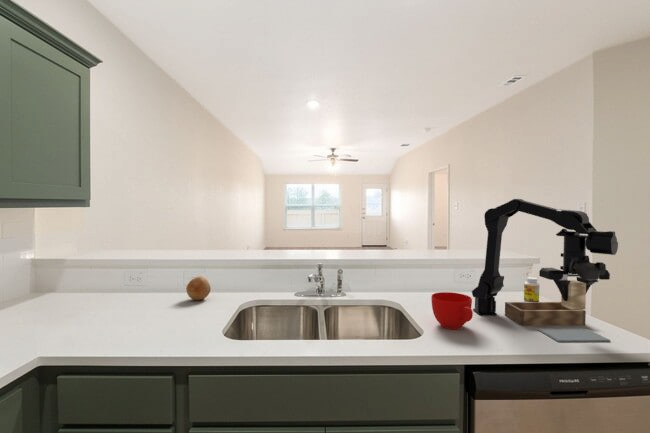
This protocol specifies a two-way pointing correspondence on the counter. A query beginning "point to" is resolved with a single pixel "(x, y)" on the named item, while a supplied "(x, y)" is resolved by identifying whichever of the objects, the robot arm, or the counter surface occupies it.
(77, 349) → the counter surface
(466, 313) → the ceramic cup
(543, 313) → the walnut crate
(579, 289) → the maple block
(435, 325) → the counter surface
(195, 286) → the onion
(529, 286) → the supplement bottle
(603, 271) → the robot arm
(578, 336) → the slate mat
